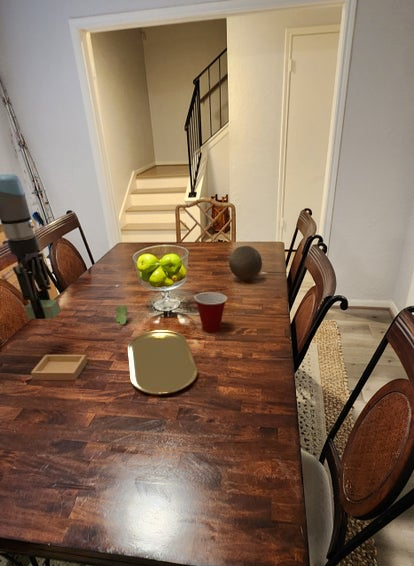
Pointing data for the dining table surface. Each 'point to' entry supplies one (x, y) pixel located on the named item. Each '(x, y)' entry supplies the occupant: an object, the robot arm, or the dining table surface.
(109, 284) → the dining table surface
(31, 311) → the green rectangular block
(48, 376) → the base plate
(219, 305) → the plastic cup
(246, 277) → the dark grey ball
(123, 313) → the seedling
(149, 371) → the serving platter
